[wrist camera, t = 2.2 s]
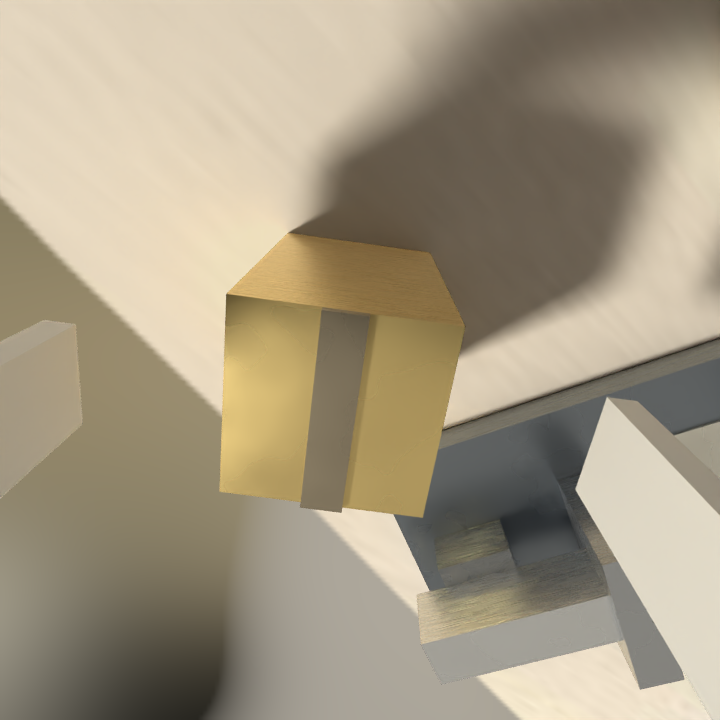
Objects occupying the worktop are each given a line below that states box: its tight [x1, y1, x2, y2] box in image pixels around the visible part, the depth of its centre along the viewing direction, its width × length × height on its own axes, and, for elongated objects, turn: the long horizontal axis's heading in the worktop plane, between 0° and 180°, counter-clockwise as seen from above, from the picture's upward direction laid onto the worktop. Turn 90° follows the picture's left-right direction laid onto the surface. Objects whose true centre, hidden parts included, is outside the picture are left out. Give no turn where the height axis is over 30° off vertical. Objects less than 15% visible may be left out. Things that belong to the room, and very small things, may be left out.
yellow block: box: [220, 233, 465, 518], centre depth 15 cm, size 5×5×8 cm
